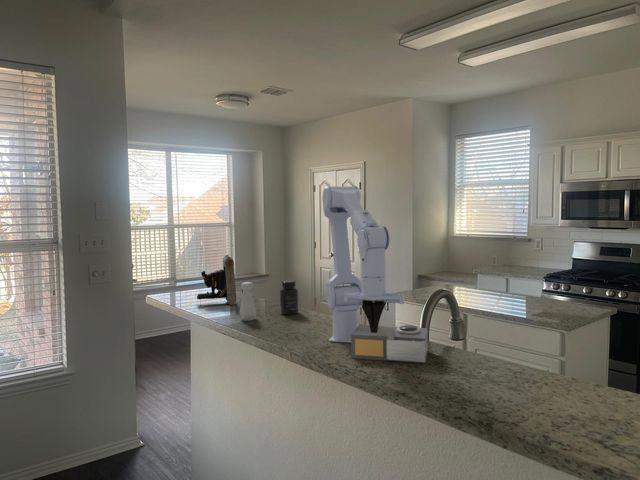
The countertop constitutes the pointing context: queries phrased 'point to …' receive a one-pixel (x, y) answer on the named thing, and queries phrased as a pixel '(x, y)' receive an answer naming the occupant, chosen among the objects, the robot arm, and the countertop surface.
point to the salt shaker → (247, 302)
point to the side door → (404, 348)
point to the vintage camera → (221, 282)
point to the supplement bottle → (289, 298)
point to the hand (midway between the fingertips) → (374, 331)
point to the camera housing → (383, 341)
